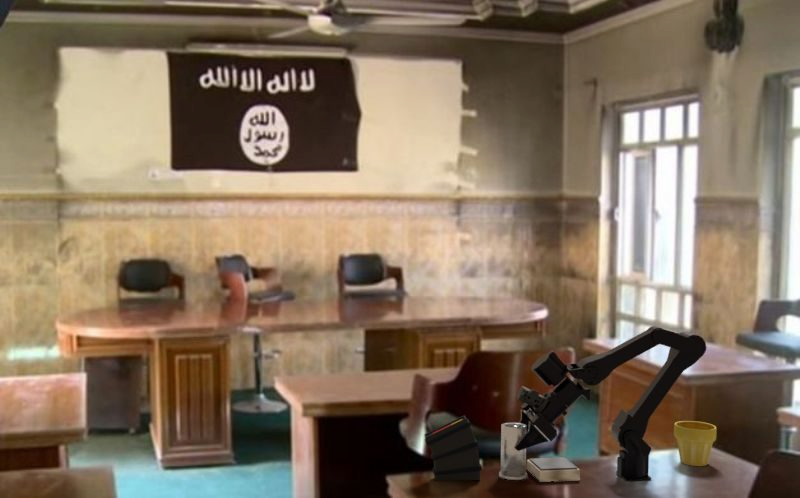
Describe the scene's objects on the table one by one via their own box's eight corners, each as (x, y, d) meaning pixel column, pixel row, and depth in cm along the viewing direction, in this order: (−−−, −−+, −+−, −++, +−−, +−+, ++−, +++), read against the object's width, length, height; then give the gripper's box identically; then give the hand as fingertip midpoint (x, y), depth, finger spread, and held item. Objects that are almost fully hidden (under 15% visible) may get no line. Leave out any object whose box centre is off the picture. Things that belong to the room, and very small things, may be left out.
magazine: (494, 474, 215) (467, 417, 214) (444, 498, 214) (417, 441, 213) (491, 469, 218) (465, 414, 217) (442, 493, 218) (416, 437, 217)
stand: (565, 468, 226) (565, 456, 226) (579, 480, 216) (580, 468, 216) (526, 470, 224) (527, 458, 224) (539, 482, 214) (539, 469, 214)
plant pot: (716, 459, 236) (717, 422, 235) (714, 470, 226) (715, 431, 226) (675, 455, 239) (675, 418, 239) (671, 465, 230) (672, 427, 229)
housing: (522, 472, 222) (523, 421, 222) (531, 480, 216) (531, 428, 215) (495, 473, 221) (496, 422, 221) (503, 481, 215) (504, 429, 214)
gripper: (530, 368, 227) (485, 412, 227) (544, 383, 208) (495, 429, 209) (561, 400, 228) (516, 443, 228) (577, 417, 209) (528, 464, 209)
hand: (513, 444), depth 218 cm, fingers open, 9 cm apart
